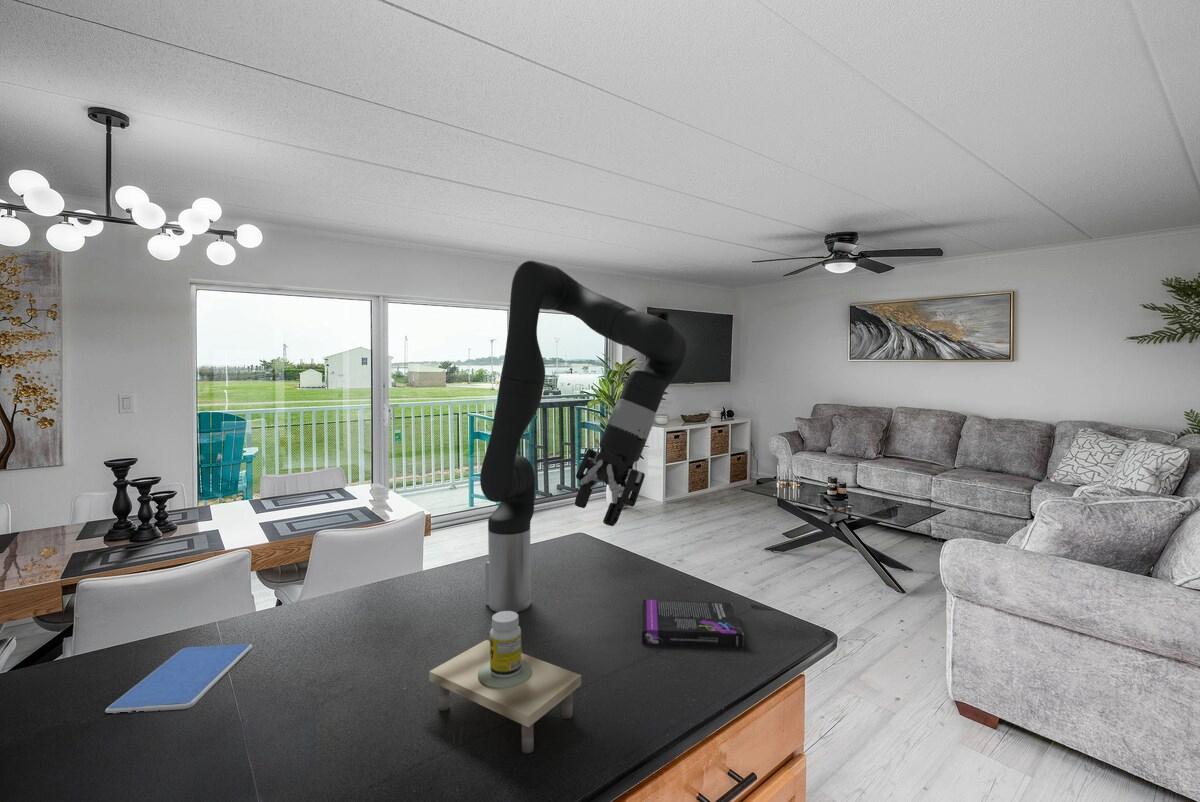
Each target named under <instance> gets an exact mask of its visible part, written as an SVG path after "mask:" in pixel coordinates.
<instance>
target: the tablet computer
mask: <svg viewBox="0 0 1200 802" xmlns="http://www.w3.org/2000/svg"><path fill="white" fill-rule="evenodd" d="M252 649H253V645H252V644H250V643H243V644H242V643H239V644H223V645H208V646H207V645H205V646H191V647H190V646H189V647H183V648H182V649H180V650H179V651H177V652H176V653H175V654H173V656H171V657H170V658H168V659H167V660H166V661H165V662H163V663H162V664H161V665H160V666H158V667H157V668H156V669H155V670H153V671H152V672H151V673H149V674H148V675H147V676H145V678H144V679H142V680H140V681H139V682H138V683H137V684H135V685H134V686H132V688H130V689H129V690H128V691H127V692H125V693H124V694H122V696H120V697H118V698H117V700H115V701H114V702H112V704H110V705H109V706H108V707H107V708H106V709H105V711H104V713H105V712H106V713H113V714H121V713H120V712H128V713H134V712H133V711H136V712H135V713H140V712H139V711H144V712H158V711H159V710H160V711H173V710H174V711H175V710H186V709H189V708H192V707H194V705H195V704H197V703H198V702H199V701H200V700H201V699H202V698H203V697H204V696H205V694H207V692H209V691H210V689H211V688H212V687H213V686H215V684H217V683H218V681H219V680H221V679H222V677H224V676H225V674H227V673H228V672H229V671H230V670H231V669H232V668H233V667H234V666H235V665H236V664H237V663H238V662H239V661H240V660H241V659H242V658H243V657H244V656H246V654H248V652H250V651H251V650H252ZM160 711H159V712H160ZM106 713H105V714H106Z"/></svg>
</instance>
